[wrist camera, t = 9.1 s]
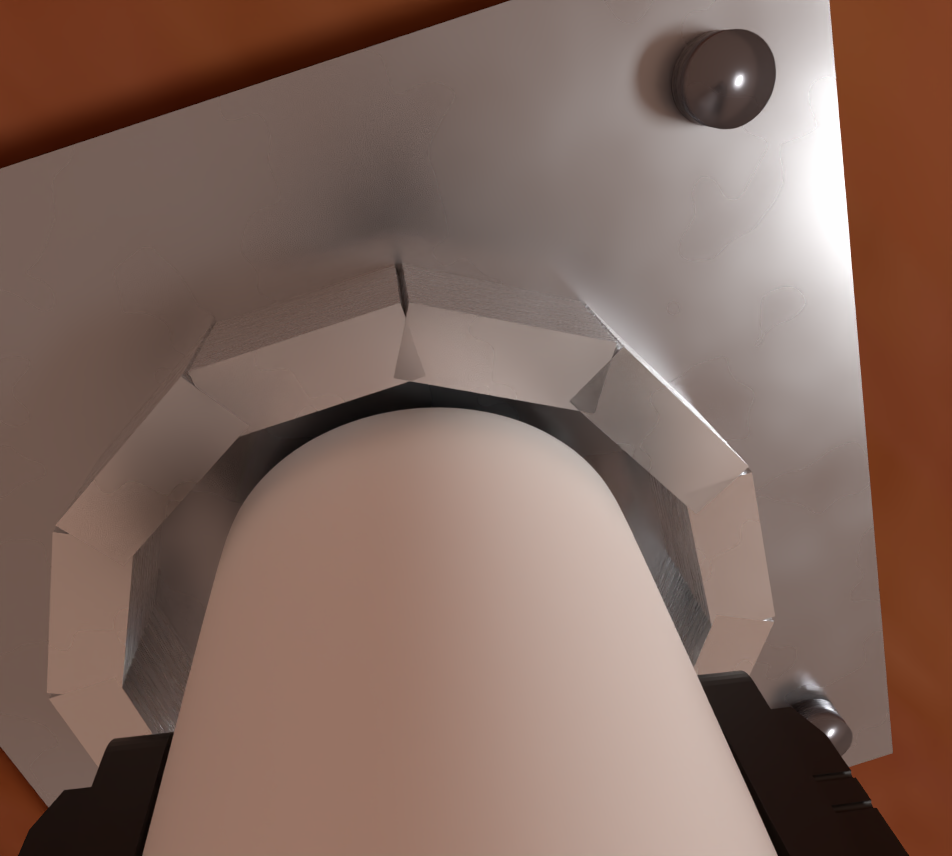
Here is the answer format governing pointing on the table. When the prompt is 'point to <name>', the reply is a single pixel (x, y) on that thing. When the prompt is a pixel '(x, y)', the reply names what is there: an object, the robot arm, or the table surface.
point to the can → (443, 665)
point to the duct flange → (446, 338)
